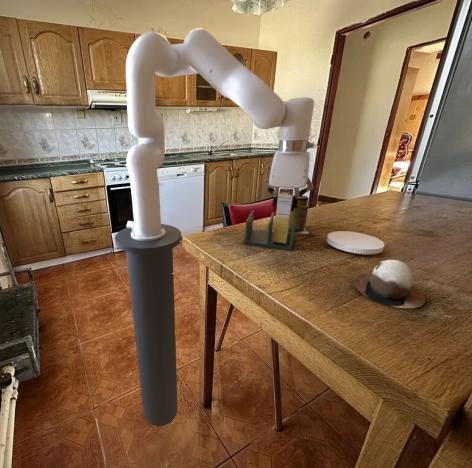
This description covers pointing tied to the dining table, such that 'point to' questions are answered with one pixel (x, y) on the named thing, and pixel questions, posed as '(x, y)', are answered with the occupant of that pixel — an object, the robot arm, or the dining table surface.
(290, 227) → the condiment
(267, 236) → the rack
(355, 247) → the plastic lid
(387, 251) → the dining table surface
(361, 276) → the bowler hat
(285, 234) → the candy box
